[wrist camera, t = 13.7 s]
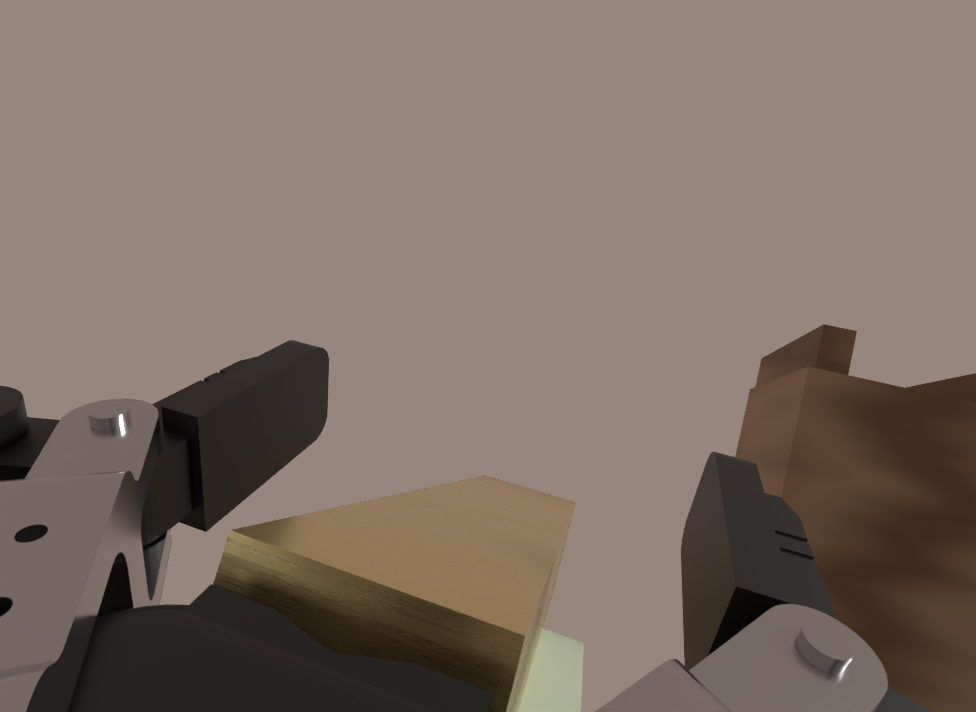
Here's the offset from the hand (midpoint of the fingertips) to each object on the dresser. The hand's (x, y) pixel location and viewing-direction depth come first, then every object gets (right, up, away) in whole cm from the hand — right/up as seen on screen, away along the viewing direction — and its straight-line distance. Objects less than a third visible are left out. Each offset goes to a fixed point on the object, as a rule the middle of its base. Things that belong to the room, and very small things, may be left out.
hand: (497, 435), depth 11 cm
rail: (-1, -5, +2) cm, 6 cm away
